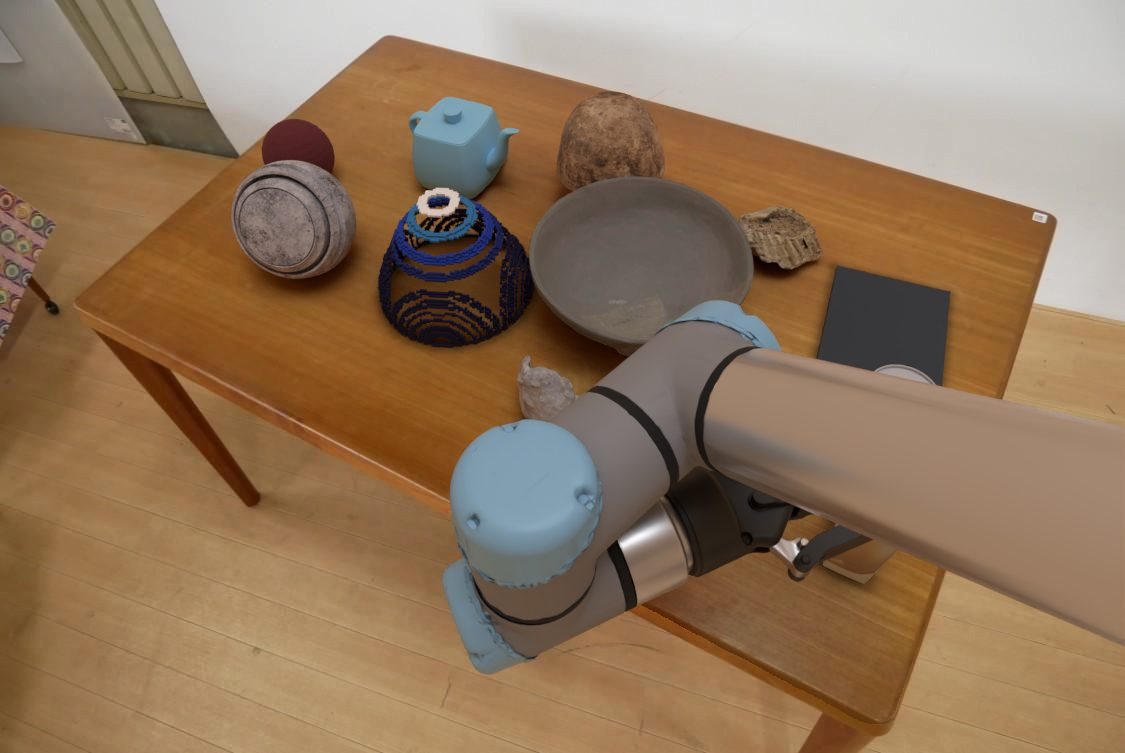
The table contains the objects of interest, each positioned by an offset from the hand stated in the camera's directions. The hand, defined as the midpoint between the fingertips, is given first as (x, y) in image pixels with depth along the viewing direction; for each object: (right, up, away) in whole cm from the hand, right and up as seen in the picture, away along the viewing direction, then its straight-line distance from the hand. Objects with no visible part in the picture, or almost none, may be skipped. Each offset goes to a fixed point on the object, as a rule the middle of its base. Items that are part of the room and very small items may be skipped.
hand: (931, 408), depth 53 cm
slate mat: (+11, +7, +32) cm, 34 cm away
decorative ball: (-67, +32, +53) cm, 91 cm away
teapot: (-42, +32, +52) cm, 74 cm away
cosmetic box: (+1, -15, +16) cm, 22 cm away
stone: (-30, -3, +26) cm, 40 cm away
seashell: (+1, +19, +41) cm, 45 cm away
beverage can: (-4, -6, +4) cm, 9 cm away
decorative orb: (-62, +18, +43) cm, 78 cm away
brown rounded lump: (-21, +29, +49) cm, 61 cm away
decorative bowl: (-42, +14, +39) cm, 59 cm away
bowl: (-19, +11, +36) cm, 43 cm away
